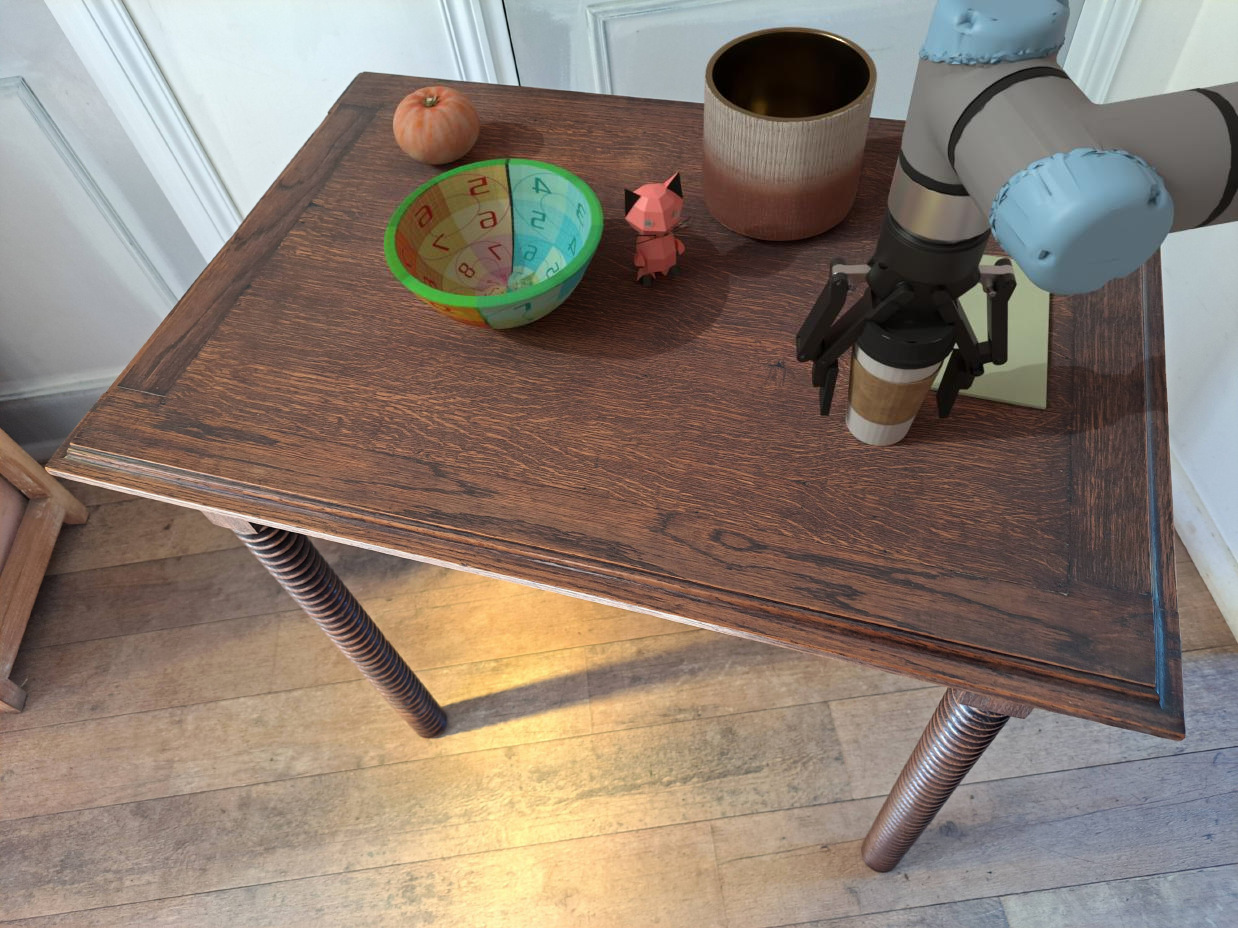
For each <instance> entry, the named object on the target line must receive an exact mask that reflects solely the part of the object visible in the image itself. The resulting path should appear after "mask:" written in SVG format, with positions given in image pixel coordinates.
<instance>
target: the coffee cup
mask: <svg viewBox="0 0 1238 928" xmlns="http://www.w3.org/2000/svg"><path fill="white" fill-rule="evenodd" d="M954 330H955V323H950V324H948V325H946V324H945V323H944V320H943V318H942V316H941V314H940V312H939V311H935V312H934V314H920V313H915V312H913V313H907V314H894V313H893V314H892V315H891V316H890V317H889V318H888V319H887V320H886V321H885V322H883V323H882V324H879V323H877V324H876V323H875V322H867V324H866V326H865V329H864V331H863V333H862V335H860V336H859V337H858V340H857V341H856V343H854V344H853V345H852V346H851V354H850V365H849V376H848V388H847V402H846V410H845V424H846V427H847V429H848V430H849V432H850V433H851V434H852V436H853V437H854V438H856V439H857V440H858V441H861V442H862V443H864V444H867V445H869V446H876V447H886V446H891V445H894V444H897V443H898V442H900V441H901V440H903V439H904V438H905V436H907V434H908V432H909V430H910V429H911V426H912V424H913V422H914V420H915V418H916V416H917V414H918V413H919V410H920V409H921V408H922V405H923V403H924V402H925V400H926V398H927V396H928V394H929V392H930V391H931V390H930V388H931V386H932V385H933V383H934V381H935V379H936V377H937V375H938V373H939V371H940V370H941V368H942V366H943V363H944V360H945V358H946V357H948V356H949V354H950V353H951V352H952V350H953V349H954V346H955V343H956V342H955V340H956V337H954Z"/></svg>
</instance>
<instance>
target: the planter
mask: <svg viewBox="0 0 1238 928" xmlns="http://www.w3.org/2000/svg"><path fill="white" fill-rule="evenodd" d="M877 71H878V70H877V67H876V64H875V62H874V60H873V58H872V57H871V56H870V55H869V53H868V52H867V51H866V50H865V49H863V47H861V46H860V45H858V44H857V43H856V42H854V41H852V40H850V39H849V38H847V37H844V36H842V35H839V34H837V33H834V32H830V31H827V30H823V29H818V28H811V27H803V26H781V27H770V28H764V29H760V30H755V31H751V32H748V33H745V34H743V35H740V36H738V37H735V38H733V39H732V40H730V41H728V42H726V43H725V44H723V45H722V46H721V47H719V49H717V50H716V51H715V52H714V53H713V54H712V56H711V57H710V59H709V61H708V62H707V65H706V67H705V71H704V97H703V98H704V100H703V131H702V132H703V133H702V159H701V192H702V193H701V194H702V199H703V202H704V205H705V207H706V209H707V210H708V211H709V213H710V215H711V216H712V217H713V218H714V219H715V220H716V221H717V222H719V224H721V225H722V226H724V227H725V228H727V229H729V230H731V231H733V232H735V233H737V234H740V235H741V236H744V237H747V238H751V239H755V240H761V241H767V242H790V241H791V242H793V241H799V240H804V239H808V238H812V237H815V236H818V235H820V234H822V233H825V232H827V231H828V230H830V229H832V228H834V227H835V226H837V225H838V224H839V223H840V222H842V221H843V220H844V219H845V217H847V216H848V214H849V212H850V211H851V209H852V207H853V205H854V202H855V199H856V196H857V191H858V186H859V182H860V176H861V170H862V164H863V159H864V153H865V147H866V140H867V136H868V130H869V124H870V118H871V113H872V110H873V109H872V108H873V103H874V98H875V92H876V87H877V80H878V72H877Z"/></svg>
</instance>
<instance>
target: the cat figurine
mask: <svg viewBox="0 0 1238 928" xmlns="http://www.w3.org/2000/svg"><path fill="white" fill-rule="evenodd" d="M680 174H681V173H680V171H679V170H678V171H677V172H675V174H673V175H672V176H671V177H670V178H669V179H667V180H665V182H658V183H647V184H643V185H641V187H638V188H637V189H635V190H634V191H632V190H630V189H627V188H624V219H625V220H626V222H627V223H628V225H629V226H630V227H631V228H632V229H633V230H635V231H637V232H638V233H639V234H634V236H636V237H637V239H636V243H635V245H636V253H635V255H634V257H633V263H634V265H635V266H636V267H637V268H639V269H638V271H637V278H636V281H637V283H638V284H640V285H641V286H642V287H649V286H650V287H651V286H652V285H654V282H656V280H657V279H656V274H655V273H656V272H660V273H662V274H663V275H664V276H665V277H671V278H677V277H678V276H679V275H681V274H682V272H681V267H680V265H678V264H677V253H678V254H679V256H681V255H682V254H683V253H684V252H685V251H686V249H685V244H684V243H682V239H678V238H675V235H674V234H673V233H676V232H680V231H683V230H686V229H689V228H690V227H691V226H693V223H692V224H691V225H689V226H686V227H683V228H680V229H677V228H679V227H680V226H681V225H683V224H684V223H686V222H687V221H689V220H690V218H691V217H689V218H687V219H685V221H683V222H682V223H680V224H679V225H678V223H679V221H680V220H681V214H682V209H683V203H684V196H683V195H684V194H683V189H682V183H681V182H682V181H681V175H680ZM672 230H674V231H672ZM630 236H633V234H631V233H630Z"/></svg>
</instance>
